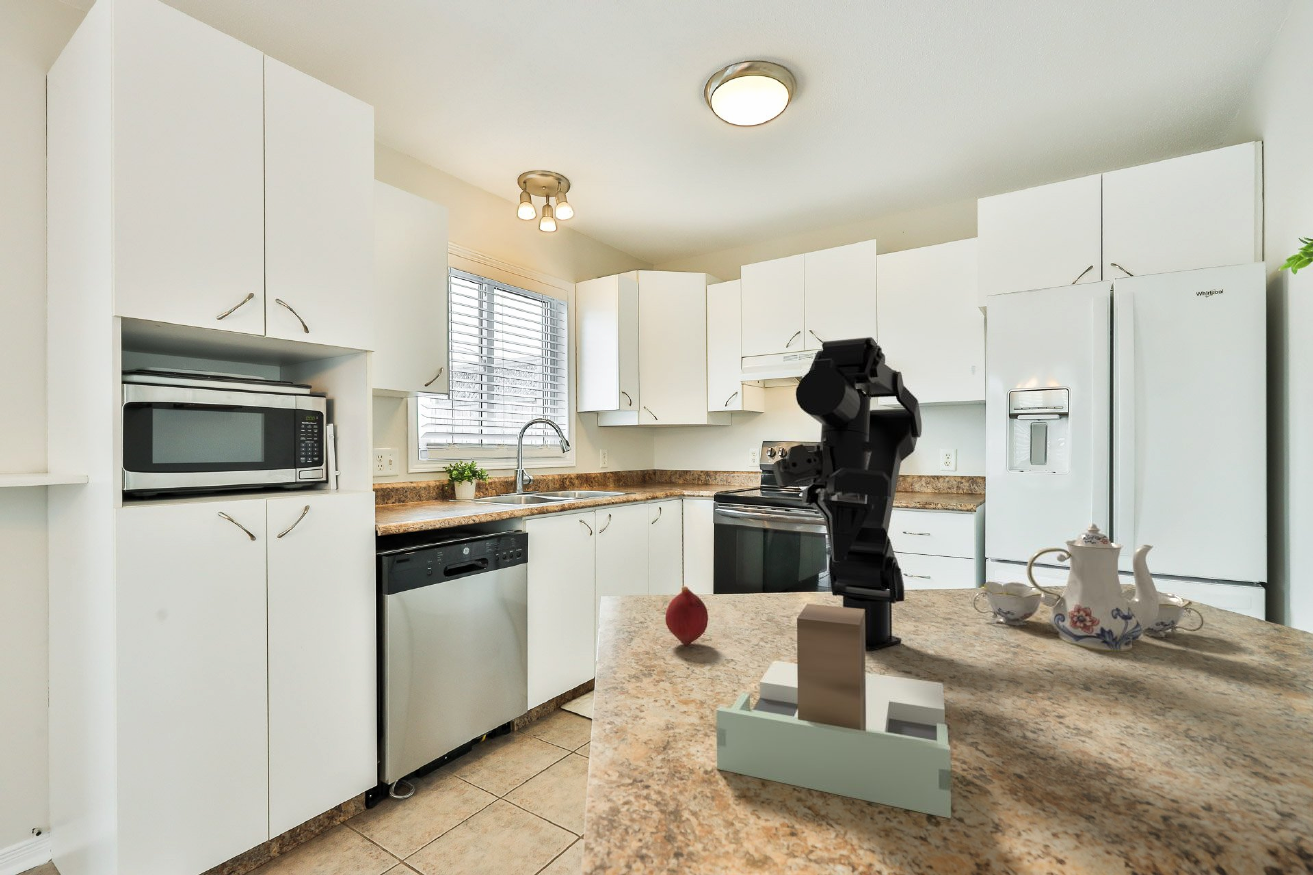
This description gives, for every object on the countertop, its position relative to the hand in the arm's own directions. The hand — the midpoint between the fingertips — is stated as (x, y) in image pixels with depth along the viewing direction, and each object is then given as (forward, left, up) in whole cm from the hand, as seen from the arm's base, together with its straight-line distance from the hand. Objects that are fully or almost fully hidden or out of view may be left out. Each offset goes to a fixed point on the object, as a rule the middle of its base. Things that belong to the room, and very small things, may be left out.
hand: (837, 561), depth 75 cm
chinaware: (-41, +9, -14) cm, 44 cm away
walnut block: (+17, +15, -11) cm, 25 cm away
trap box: (+12, +12, -13) cm, 21 cm away
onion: (+10, -18, -13) cm, 24 cm away
